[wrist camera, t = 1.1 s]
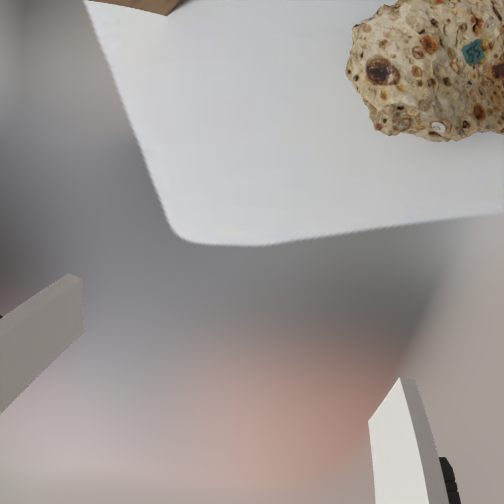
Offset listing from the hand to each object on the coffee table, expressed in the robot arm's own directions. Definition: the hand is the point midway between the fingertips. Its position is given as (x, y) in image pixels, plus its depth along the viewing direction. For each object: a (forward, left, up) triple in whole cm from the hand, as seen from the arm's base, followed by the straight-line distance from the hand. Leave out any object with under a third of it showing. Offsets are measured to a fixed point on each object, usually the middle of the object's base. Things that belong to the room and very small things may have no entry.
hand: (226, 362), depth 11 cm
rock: (-19, 0, -26) cm, 33 cm away
